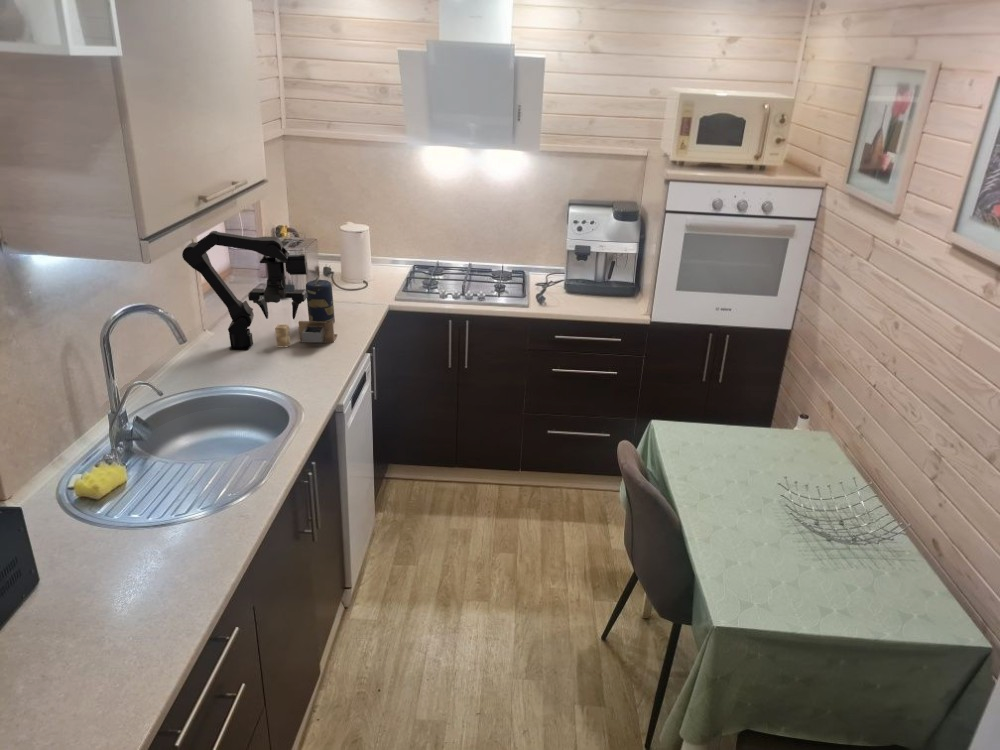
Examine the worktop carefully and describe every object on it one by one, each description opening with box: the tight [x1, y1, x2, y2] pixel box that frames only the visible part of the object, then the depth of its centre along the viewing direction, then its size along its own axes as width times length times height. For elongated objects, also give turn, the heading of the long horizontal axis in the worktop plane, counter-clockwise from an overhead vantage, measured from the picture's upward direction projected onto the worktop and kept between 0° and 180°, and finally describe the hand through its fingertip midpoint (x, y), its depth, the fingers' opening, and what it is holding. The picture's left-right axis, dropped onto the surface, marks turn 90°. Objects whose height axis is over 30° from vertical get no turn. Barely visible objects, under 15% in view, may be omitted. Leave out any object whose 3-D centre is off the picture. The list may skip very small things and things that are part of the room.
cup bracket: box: [298, 320, 338, 343], centre depth 249 cm, size 12×13×8 cm
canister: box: [305, 278, 336, 325], centre depth 263 cm, size 10×10×18 cm
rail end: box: [274, 324, 291, 347], centre depth 246 cm, size 4×4×7 cm
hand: (280, 318), depth 244 cm, fingers open, 9 cm apart
